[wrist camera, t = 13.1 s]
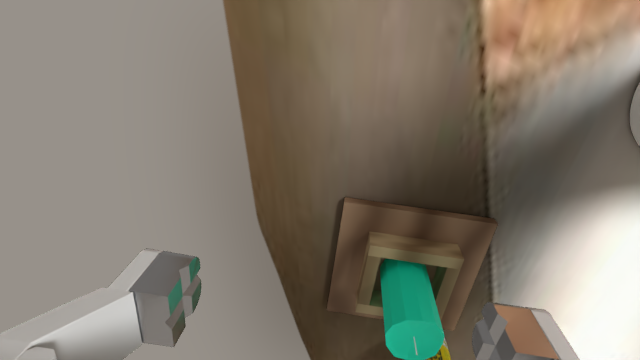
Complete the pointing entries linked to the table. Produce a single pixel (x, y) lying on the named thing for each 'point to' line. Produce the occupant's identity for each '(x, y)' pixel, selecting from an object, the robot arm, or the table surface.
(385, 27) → the table surface
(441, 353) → the supplement bottle
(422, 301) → the candle
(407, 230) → the candle holder
